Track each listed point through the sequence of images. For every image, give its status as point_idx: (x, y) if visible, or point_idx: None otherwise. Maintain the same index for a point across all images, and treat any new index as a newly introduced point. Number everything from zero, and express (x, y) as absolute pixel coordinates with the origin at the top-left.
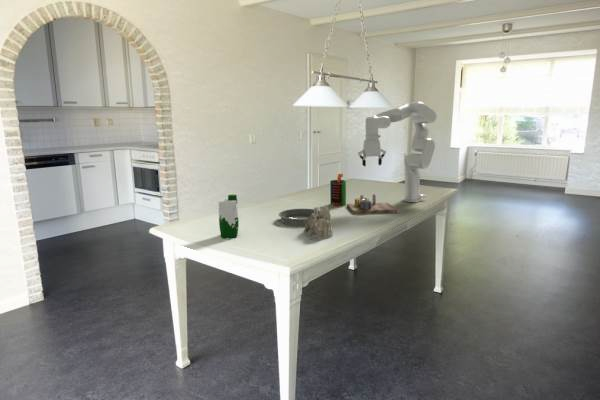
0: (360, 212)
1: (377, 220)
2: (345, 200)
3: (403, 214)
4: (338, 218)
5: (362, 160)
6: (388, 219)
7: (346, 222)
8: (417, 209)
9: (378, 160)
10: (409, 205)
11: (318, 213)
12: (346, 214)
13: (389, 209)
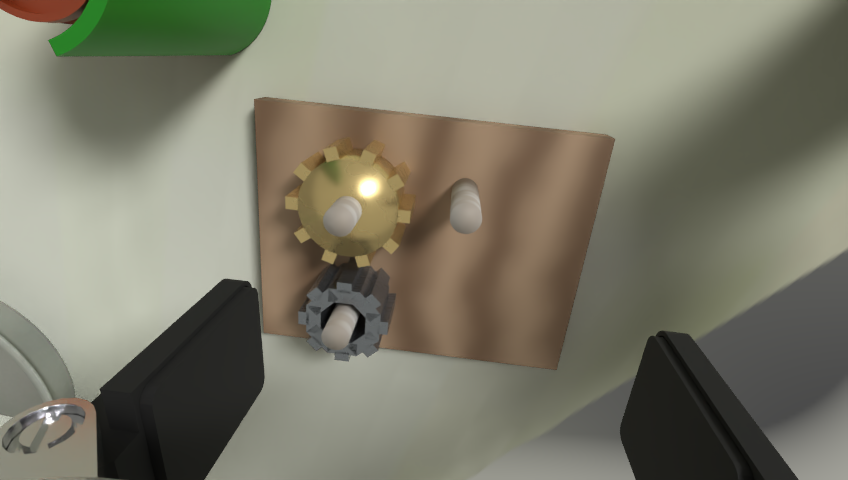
0: None
1: (365, 460)
2: (242, 24)
3: (566, 396)
4: None
5: (98, 409)
6: (428, 459)
7: None
8: (746, 307)
9: (702, 435)
10: (794, 169)
11: (37, 368)
12: None
13: (506, 355)
